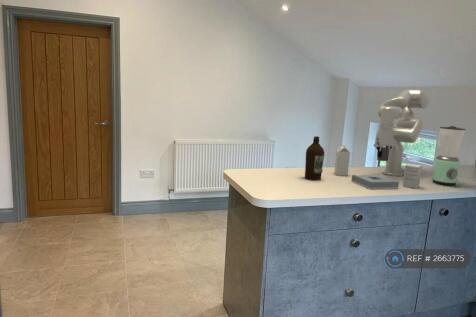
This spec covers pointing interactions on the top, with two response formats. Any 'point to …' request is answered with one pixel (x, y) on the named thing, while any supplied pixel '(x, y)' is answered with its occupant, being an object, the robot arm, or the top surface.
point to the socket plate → (375, 181)
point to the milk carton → (342, 161)
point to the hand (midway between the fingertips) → (382, 156)
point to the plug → (384, 154)
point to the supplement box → (412, 176)
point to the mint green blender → (448, 155)
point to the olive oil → (314, 160)
